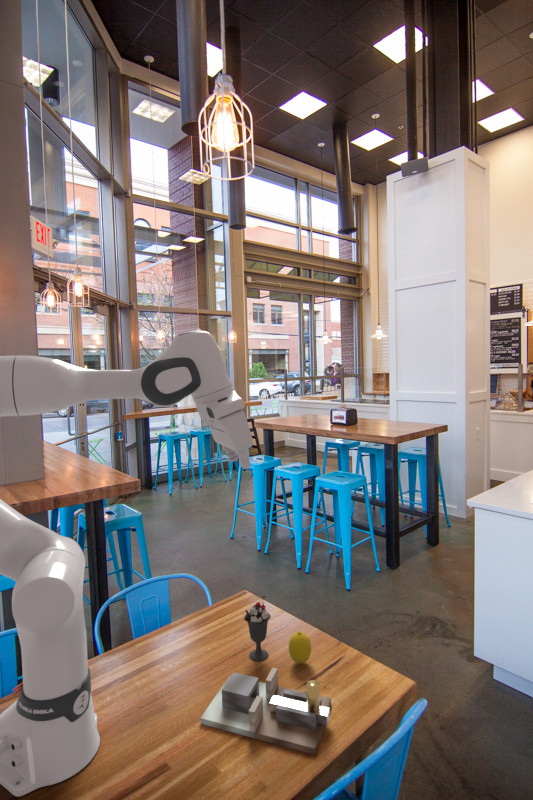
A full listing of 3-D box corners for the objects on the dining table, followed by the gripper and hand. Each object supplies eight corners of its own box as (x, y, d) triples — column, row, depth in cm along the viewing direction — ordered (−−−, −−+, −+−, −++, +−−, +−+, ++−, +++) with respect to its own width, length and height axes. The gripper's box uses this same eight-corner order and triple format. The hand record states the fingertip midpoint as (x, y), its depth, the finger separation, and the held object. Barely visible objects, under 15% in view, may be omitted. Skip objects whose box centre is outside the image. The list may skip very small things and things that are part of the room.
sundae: (276, 652, 113) (275, 594, 112) (262, 666, 107) (260, 606, 107) (255, 644, 116) (253, 589, 116) (240, 658, 111) (238, 599, 110)
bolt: (329, 716, 88) (328, 683, 88) (326, 725, 86) (326, 691, 86) (273, 703, 93) (272, 671, 92) (269, 711, 90) (268, 679, 90)
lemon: (310, 672, 105) (309, 639, 104) (287, 669, 106) (286, 637, 106) (312, 657, 110) (311, 626, 110) (290, 655, 111) (290, 624, 111)
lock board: (331, 703, 94) (330, 679, 94) (315, 754, 81) (314, 727, 81) (229, 680, 103) (229, 658, 102) (200, 723, 89) (199, 698, 89)
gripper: (195, 408, 101) (215, 462, 103) (214, 411, 82) (240, 478, 84) (219, 398, 103) (239, 452, 105) (245, 399, 84) (268, 465, 86)
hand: (240, 464), depth 94 cm, fingers open, 8 cm apart
